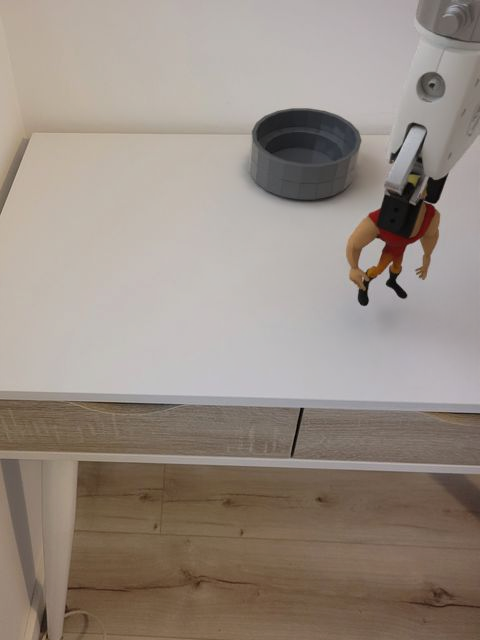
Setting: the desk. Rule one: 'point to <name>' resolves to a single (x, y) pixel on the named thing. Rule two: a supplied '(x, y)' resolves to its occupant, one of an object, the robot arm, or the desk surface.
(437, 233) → the action figure
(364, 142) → the desk surface
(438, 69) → the robot arm
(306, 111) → the bowl
